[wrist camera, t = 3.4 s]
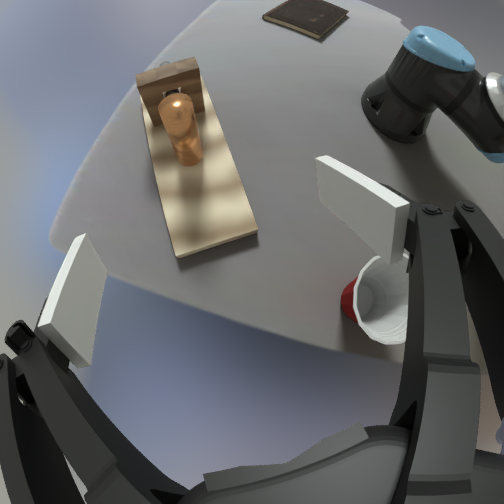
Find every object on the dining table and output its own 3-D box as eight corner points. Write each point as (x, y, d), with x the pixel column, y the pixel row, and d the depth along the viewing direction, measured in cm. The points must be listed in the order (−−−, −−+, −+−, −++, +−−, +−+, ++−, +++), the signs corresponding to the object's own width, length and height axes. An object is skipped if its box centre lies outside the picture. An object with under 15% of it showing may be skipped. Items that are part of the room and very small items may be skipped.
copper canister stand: (142, 101, 44) (124, 56, 32) (202, 82, 45) (195, 34, 33) (178, 258, 39) (153, 239, 27) (257, 232, 40) (265, 203, 28)
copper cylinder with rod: (159, 87, 41) (145, 40, 30) (180, 81, 42) (170, 32, 30) (180, 169, 39) (161, 122, 27) (206, 161, 39) (195, 111, 27)
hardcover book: (347, 16, 54) (348, 11, 52) (318, 41, 50) (320, 35, 48) (299, -3, 55) (300, -8, 53) (261, 20, 51) (262, 13, 49)
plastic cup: (331, 256, 40) (365, 238, 29) (391, 273, 40) (436, 263, 29) (314, 327, 38) (345, 337, 27) (377, 340, 38) (421, 350, 27)
